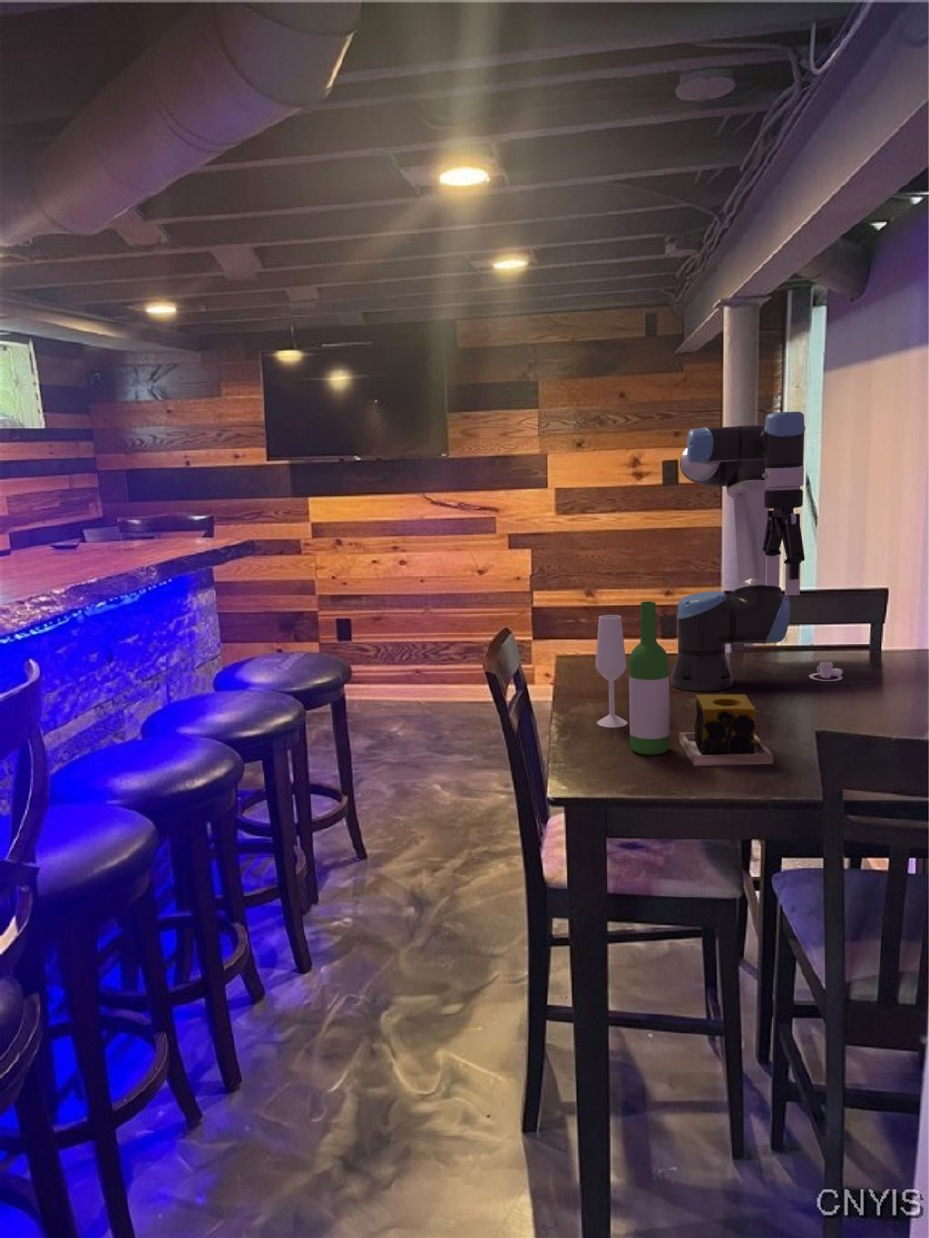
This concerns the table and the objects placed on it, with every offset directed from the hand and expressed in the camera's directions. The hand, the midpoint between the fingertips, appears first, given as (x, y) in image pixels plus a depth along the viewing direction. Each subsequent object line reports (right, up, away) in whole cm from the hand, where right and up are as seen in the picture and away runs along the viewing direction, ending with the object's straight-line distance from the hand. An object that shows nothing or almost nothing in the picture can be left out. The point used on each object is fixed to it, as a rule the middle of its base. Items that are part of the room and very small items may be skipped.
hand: (781, 590), depth 179 cm
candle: (-16, -32, -12) cm, 38 cm away
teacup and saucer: (+28, -22, +37) cm, 51 cm away
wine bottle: (-30, -33, -9) cm, 45 cm away
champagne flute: (-34, -29, +10) cm, 46 cm away
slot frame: (-16, -32, -12) cm, 38 cm away
